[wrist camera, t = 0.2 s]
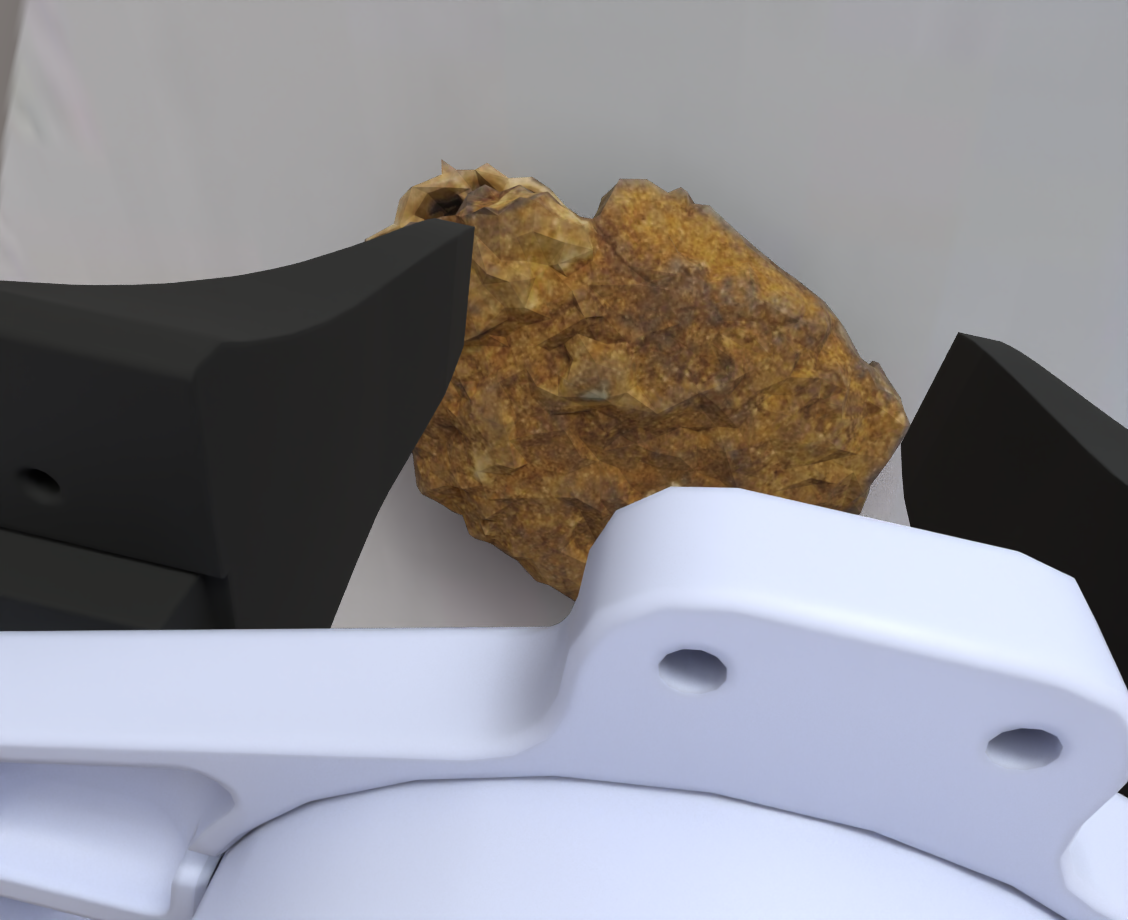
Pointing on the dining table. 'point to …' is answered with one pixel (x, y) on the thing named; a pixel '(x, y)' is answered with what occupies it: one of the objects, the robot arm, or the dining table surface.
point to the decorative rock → (633, 370)
